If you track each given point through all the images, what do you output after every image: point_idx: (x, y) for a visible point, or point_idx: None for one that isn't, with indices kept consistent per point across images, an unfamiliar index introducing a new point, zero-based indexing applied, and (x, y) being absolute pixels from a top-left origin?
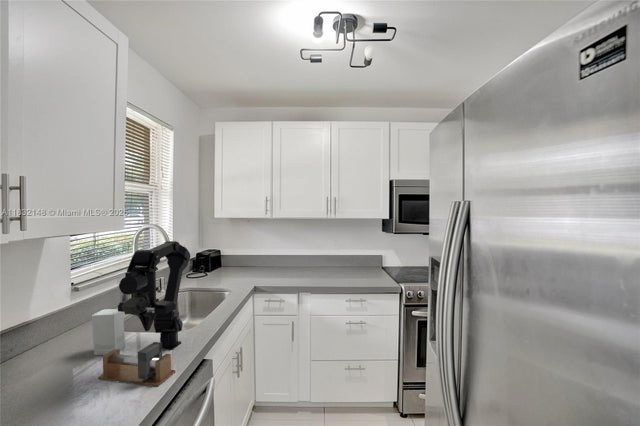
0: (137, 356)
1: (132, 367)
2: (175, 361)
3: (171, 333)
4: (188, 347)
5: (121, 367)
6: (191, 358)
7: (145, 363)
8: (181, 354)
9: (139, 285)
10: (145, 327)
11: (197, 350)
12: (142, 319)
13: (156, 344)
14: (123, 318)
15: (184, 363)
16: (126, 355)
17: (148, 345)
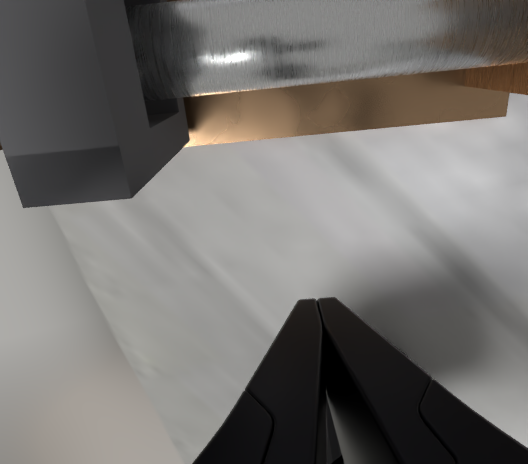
0: (248, 42)
1: (366, 108)
2: (169, 263)
3: (329, 458)
4: (228, 401)
5: (449, 84)
6: (106, 312)
7: None
8: (202, 334)
9: None
10: (324, 324)
11: (150, 387)
12: (412, 439)
13: (36, 147)
14: None
15: (96, 258)
16: (384, 25)
17: (104, 94)
